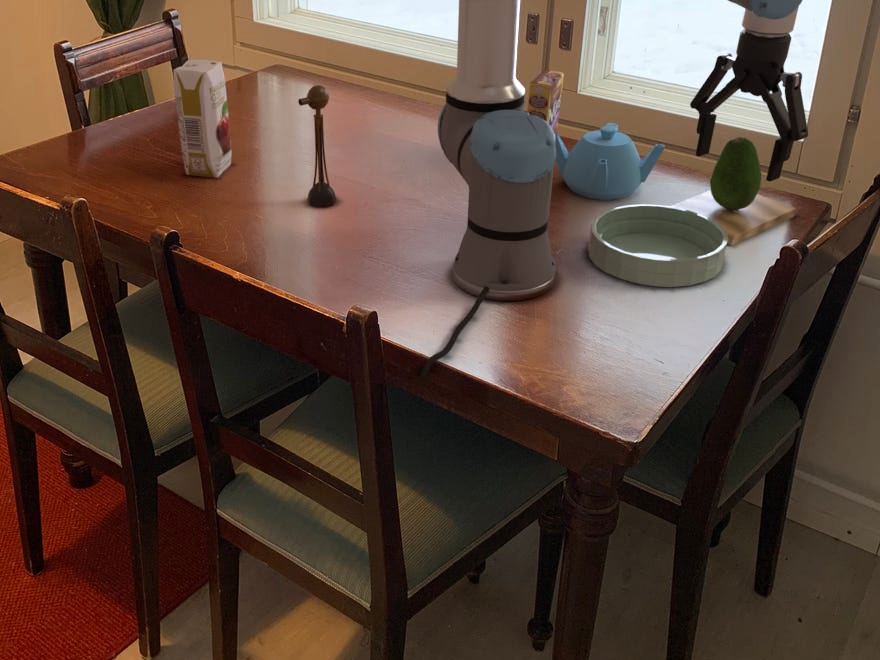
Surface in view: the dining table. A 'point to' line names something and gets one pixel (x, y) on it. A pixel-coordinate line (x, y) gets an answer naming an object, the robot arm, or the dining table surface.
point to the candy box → (546, 97)
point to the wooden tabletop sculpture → (319, 150)
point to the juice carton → (203, 117)
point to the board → (740, 215)
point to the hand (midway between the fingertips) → (736, 166)
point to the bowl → (657, 245)
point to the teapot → (604, 164)
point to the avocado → (736, 175)
